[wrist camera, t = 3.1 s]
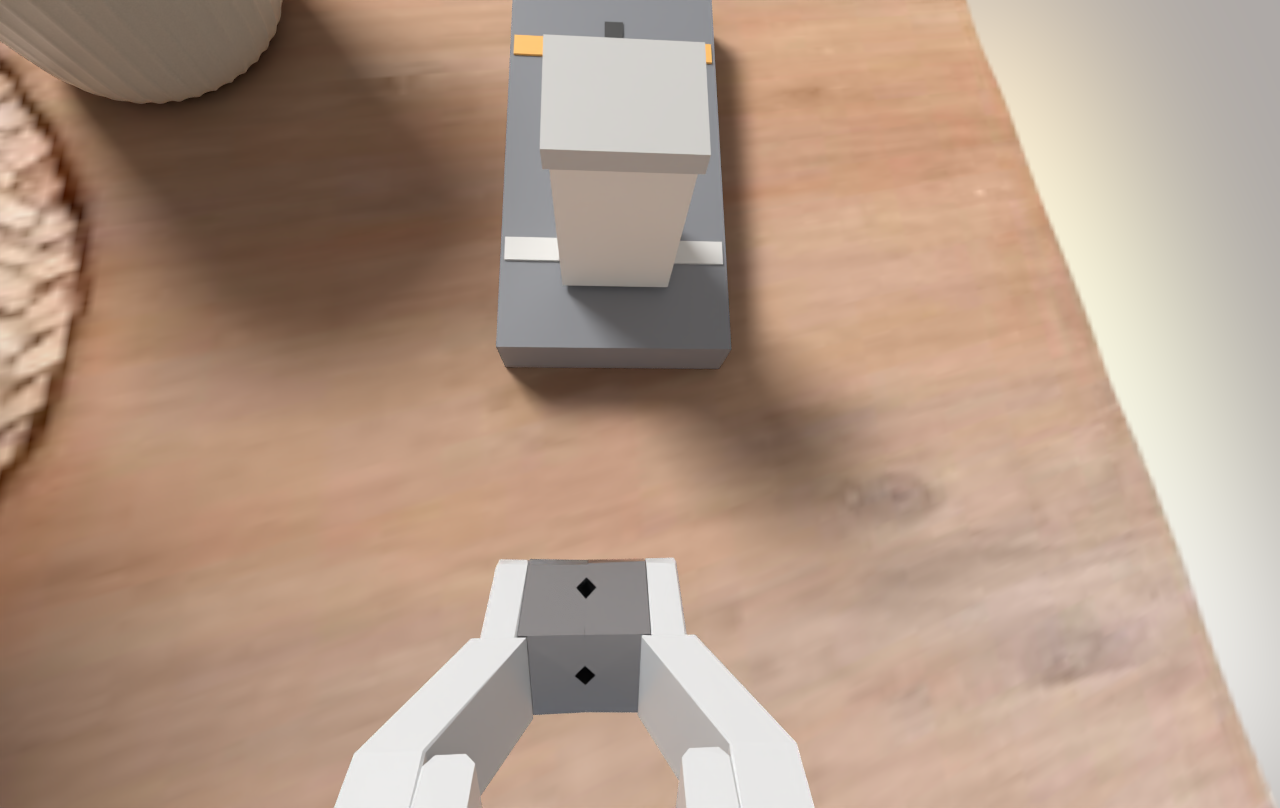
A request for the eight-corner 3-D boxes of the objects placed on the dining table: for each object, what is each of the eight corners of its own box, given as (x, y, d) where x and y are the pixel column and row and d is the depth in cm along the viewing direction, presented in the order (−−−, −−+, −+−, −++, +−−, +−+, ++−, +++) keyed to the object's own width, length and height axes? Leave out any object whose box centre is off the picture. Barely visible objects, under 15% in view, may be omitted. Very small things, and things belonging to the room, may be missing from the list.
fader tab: (671, 291, 29) (710, 155, 19) (557, 289, 28) (539, 148, 19) (669, 209, 30) (705, 42, 20) (559, 206, 30) (543, 34, 20)
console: (718, 368, 32) (731, 348, 29) (505, 367, 31) (495, 345, 28) (701, 27, 37) (710, -20, 34) (520, 18, 36) (513, -31, 33)
